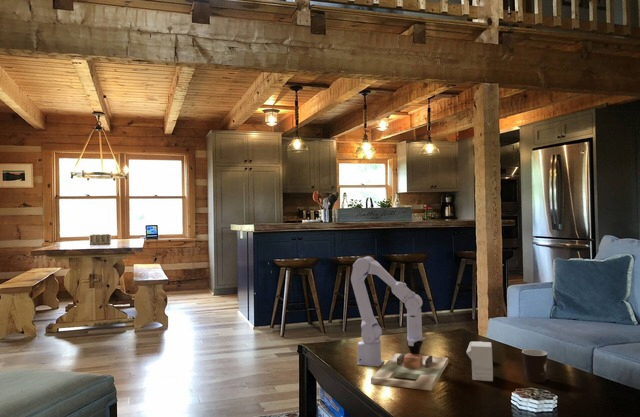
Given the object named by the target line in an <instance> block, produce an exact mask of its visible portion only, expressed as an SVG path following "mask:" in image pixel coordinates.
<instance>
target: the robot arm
mask: <svg viewBox="0 0 640 417" xmlns="http://www.w3.org/2000/svg"><path fill="white" fill-rule="evenodd" d="M351 271H352V272H351V276H350V282H351V285H352V286H351V287H352V289H353V293H354V296H355V300H356V304H357V307H358V311H359V314H360V318H361V324H360V327H361V333H360V334H361V335H360V337H361V339H362V340H360V341H358V342H357V352H356V354H357V355H356V356H357V363H356V365H359V366H370V367H380V366H381V365H382V364H383V363H384V362H385V360H383V359H382V349H381V348H382V342H381V341H382V340H381V336H382V334H383V329H382V327H381V325H380V324H379V323H378V320H377V318H376V317H375V316H374V312H373V309H372V306H371V302H370V298H369V294H368V289H367V287H366V284H365V279H366V278H367V276H368V275H376V276H377V277H378V278H379V279H381V280H382V281H383V282H384V283H385V284H386V285H388V286H389V287H390V288H391V293H392V294H393V295H395V297H397V298H398V299H399V300H400V301H401V302H402V303H404V306H405V309H406V313H407V314H406V329H407V330H406V331H407V335H406V339H407V343H406V345H407V347H408V348H409V352H410V353H411V354H421V353H420V351H421V348H422V345H423V343H424V342H423V341H424V340H425V339H426V337H425V336H423V326H422V325H423V324H422V323H423V321H422V318H423V317H422V306H423V299H422V297H421V296H420V295H419V294H416V292H415V291H412V290H411V289H410V288H409V287H408V286H407V283H405V282H402V281H398V280H396V279H395V278H394V277H393V276H392V275H391V274H390V273H389V272H388V271H387V270H386V269H385V268H384V267H383V266H382V265H381V263H379V261H377V260H375V259H374V257H372V256H370V255H367V256H364V257H359V258H357V259H356V260H355V262H353V264H352V270H351Z"/></svg>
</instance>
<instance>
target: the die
mask: <svg viewBox="0 0 640 417" xmlns="http://www.w3.org/2000/svg"><path fill="white" fill-rule="evenodd" d="M477 342H483V341H477ZM471 344H472V341H470V342H469V344H468V347H467V349H466V353H465V354H466V355H467V356H468V357H469V359H470V360H471V361H472V355H471Z"/></svg>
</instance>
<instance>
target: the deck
mask: <svg viewBox="0 0 640 417" xmlns="http://www.w3.org/2000/svg"><path fill="white" fill-rule="evenodd" d="M406 354H407V353H394V355H392V356H391V357H390V358H389V359H388V360H387V361H386V362H385V363H384V365H383V366H381V367H380V368H379V369H378V370H377V371H375V373H374V374H373V375H372V376H371V377H370V384H373V385H374V384H375V385H380V386H388V387H389V386H391V387H396V388H397V387H399V388H405V389H406V388H409V389H416V390H424V391H433V389H434V388H435V386H436V384H437V382H438V381H439V379H440V377H441V376H442V374H443V372H444V371H445V369H446V368H447V366H448V364H449V358H448V357H440V356H433V355H422V358H423V365H422V366H421V368H420V369H414V368H404V356H405V355H406ZM399 378H401V379H399Z"/></svg>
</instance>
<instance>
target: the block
mask: <svg viewBox="0 0 640 417" xmlns="http://www.w3.org/2000/svg"><path fill="white" fill-rule="evenodd" d="M405 354H406V355H405V356H404V368H414V369H420V368H421V366H422V365H423V358H422V356H423V354H421V353H419V354H411V352H410V353H409V352H408V353H405Z"/></svg>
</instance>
